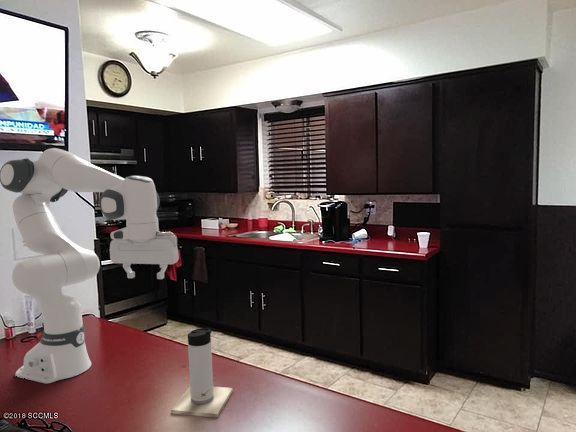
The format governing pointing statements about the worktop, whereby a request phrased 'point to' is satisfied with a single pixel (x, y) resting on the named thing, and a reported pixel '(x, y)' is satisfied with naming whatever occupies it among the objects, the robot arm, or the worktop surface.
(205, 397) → the travel mug
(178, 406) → the coaster board
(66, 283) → the robot arm
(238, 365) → the worktop surface
